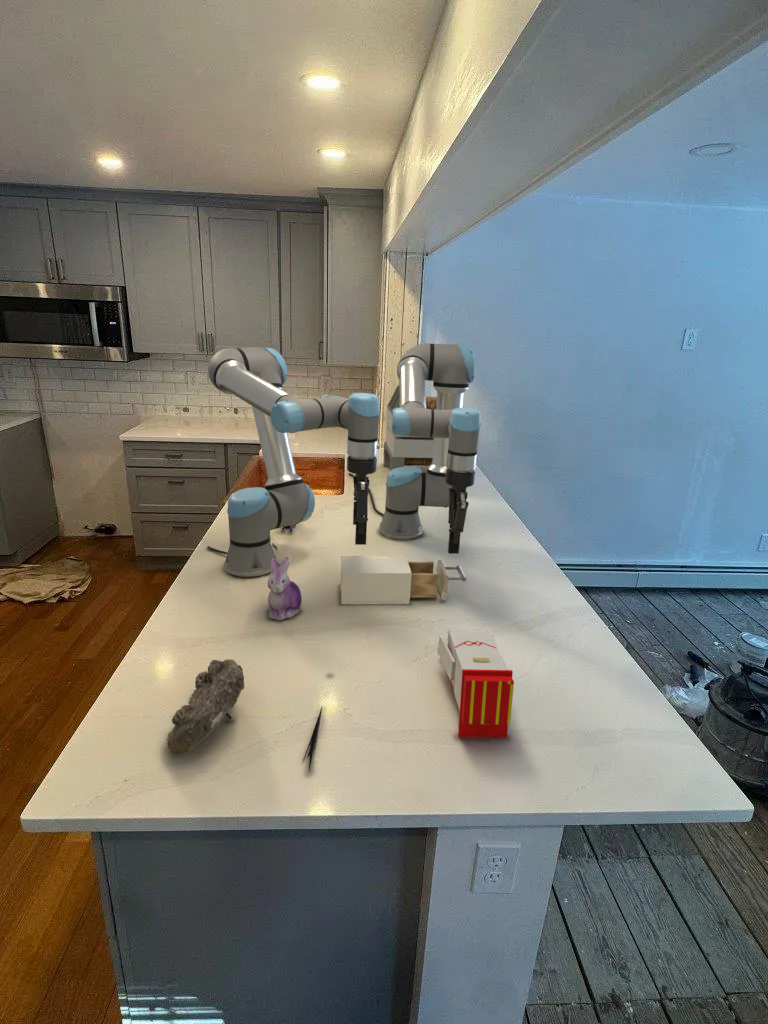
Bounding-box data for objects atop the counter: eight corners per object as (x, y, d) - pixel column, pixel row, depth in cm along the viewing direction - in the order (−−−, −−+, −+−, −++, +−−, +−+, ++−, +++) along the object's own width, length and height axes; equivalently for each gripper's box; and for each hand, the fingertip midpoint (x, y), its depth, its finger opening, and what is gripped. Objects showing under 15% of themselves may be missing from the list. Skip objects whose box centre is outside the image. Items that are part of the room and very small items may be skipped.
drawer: (457, 583, 164) (460, 559, 161) (465, 599, 155) (468, 575, 152) (380, 583, 161) (381, 559, 159) (383, 600, 152) (384, 575, 150)
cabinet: (404, 585, 163) (406, 556, 160) (409, 604, 153) (411, 573, 150) (340, 585, 161) (341, 555, 158) (341, 604, 151) (342, 573, 148)
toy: (488, 613, 130) (523, 677, 101) (484, 667, 133) (517, 744, 104) (435, 612, 130) (455, 676, 101) (432, 666, 133) (451, 743, 103)
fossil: (192, 660, 117) (244, 628, 112) (224, 691, 120) (276, 661, 115) (142, 746, 98) (202, 712, 93) (182, 779, 101) (242, 748, 96)
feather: (331, 679, 122) (336, 673, 122) (307, 777, 96) (313, 769, 95) (324, 675, 122) (329, 669, 121) (298, 772, 95) (304, 764, 95)
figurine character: (295, 538, 195) (300, 518, 208) (295, 519, 192) (300, 500, 205) (276, 538, 195) (282, 518, 208) (275, 518, 191) (281, 499, 205)
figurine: (272, 625, 139) (271, 570, 134) (261, 606, 148) (259, 553, 143) (309, 617, 144) (308, 563, 139) (295, 599, 152) (295, 548, 147)
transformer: (382, 463, 289) (386, 382, 275) (445, 464, 293) (451, 384, 279) (390, 482, 257) (394, 392, 243) (460, 483, 261) (468, 394, 247)
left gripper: (381, 470, 132) (377, 553, 139) (373, 444, 155) (370, 517, 162) (349, 469, 131) (346, 553, 138) (345, 444, 154) (343, 516, 162)
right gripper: (481, 476, 141) (472, 562, 149) (469, 462, 153) (461, 543, 161) (451, 476, 140) (444, 562, 148) (441, 462, 152) (435, 543, 160)
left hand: (359, 533), depth 150 cm, fingers open, 13 cm apart
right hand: (453, 552), depth 155 cm, fingers closed
